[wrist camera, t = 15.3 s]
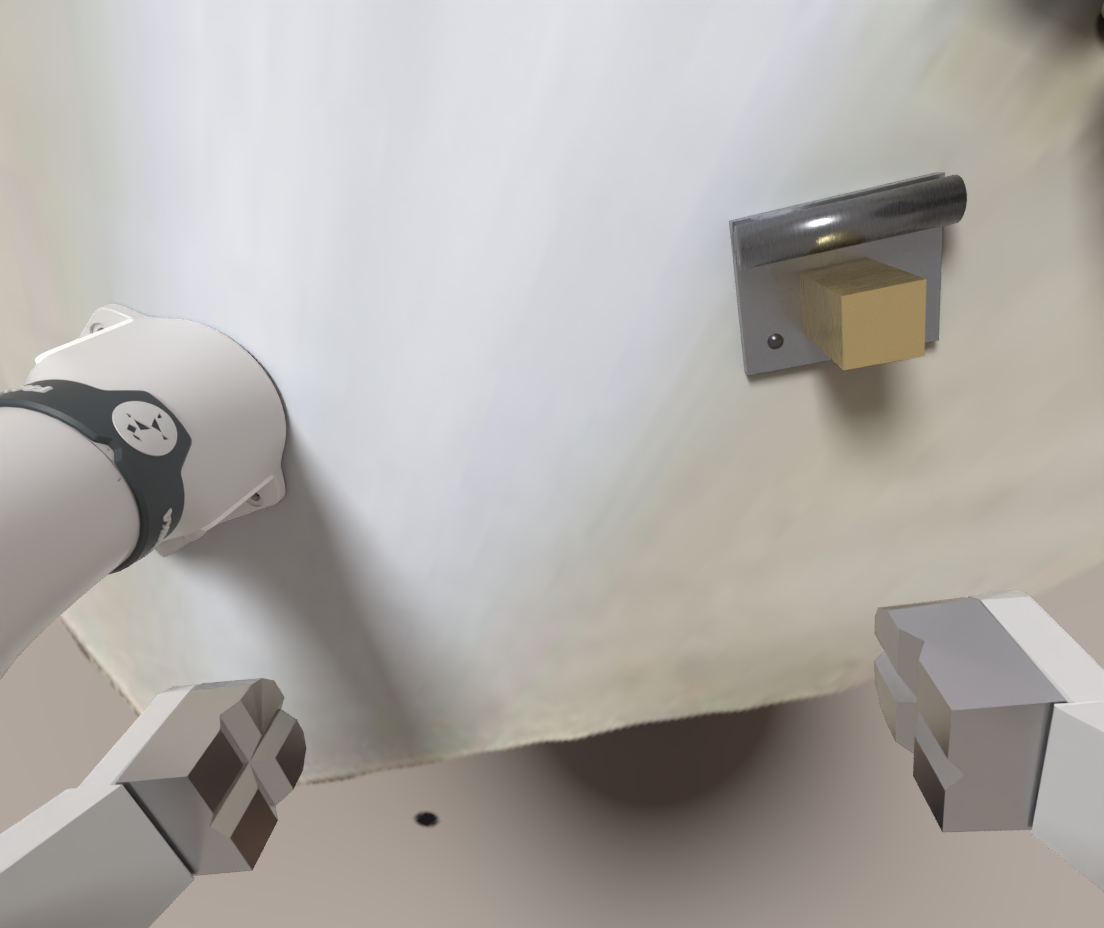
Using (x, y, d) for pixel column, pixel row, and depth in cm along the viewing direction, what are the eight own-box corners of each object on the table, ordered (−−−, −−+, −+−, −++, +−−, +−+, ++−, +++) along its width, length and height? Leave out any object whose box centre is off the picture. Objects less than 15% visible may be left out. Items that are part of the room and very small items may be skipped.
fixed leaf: (931, 336, 40) (958, 350, 36) (744, 371, 42) (755, 387, 39) (936, 172, 36) (968, 172, 32) (729, 221, 38) (739, 225, 35)
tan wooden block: (869, 320, 39) (925, 355, 32) (803, 333, 40) (843, 370, 32) (868, 257, 37) (927, 278, 30) (799, 271, 38) (841, 296, 31)
